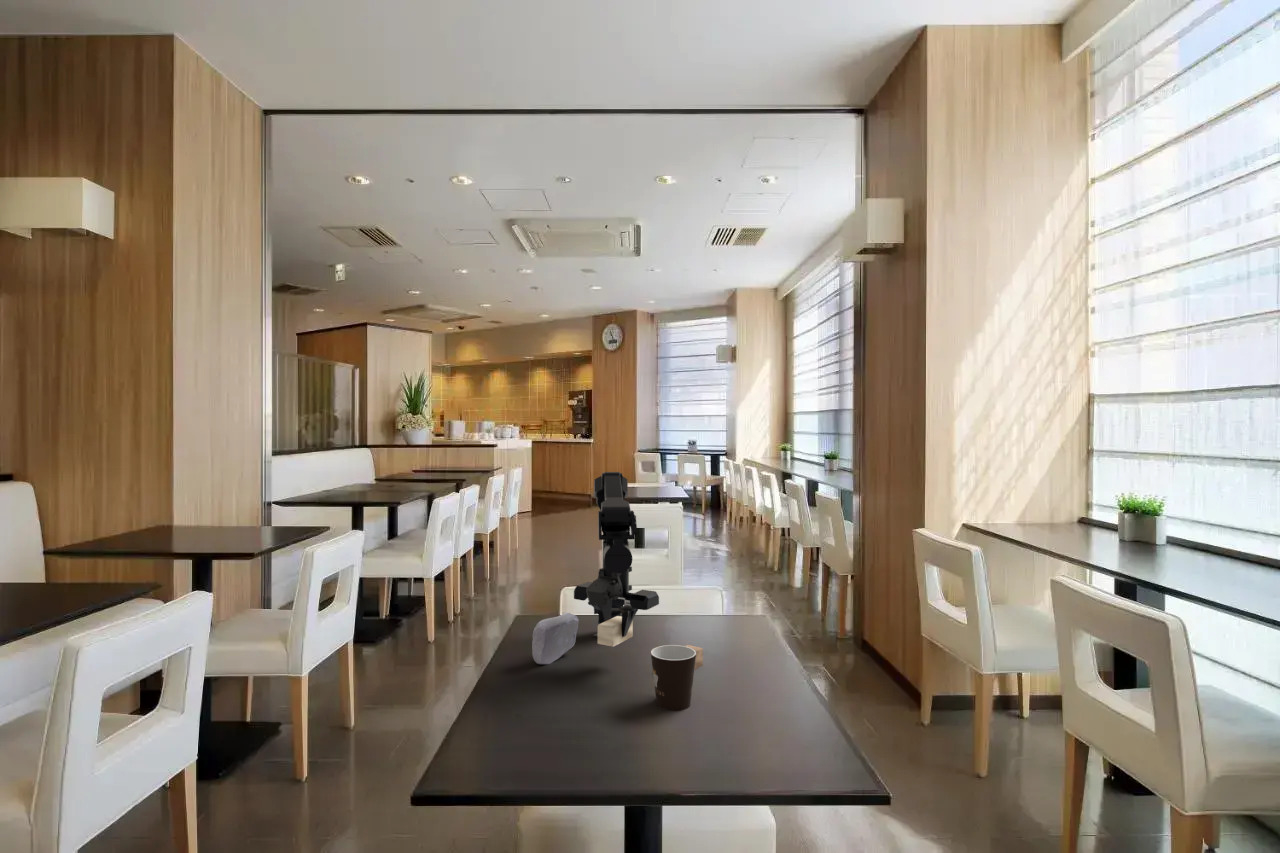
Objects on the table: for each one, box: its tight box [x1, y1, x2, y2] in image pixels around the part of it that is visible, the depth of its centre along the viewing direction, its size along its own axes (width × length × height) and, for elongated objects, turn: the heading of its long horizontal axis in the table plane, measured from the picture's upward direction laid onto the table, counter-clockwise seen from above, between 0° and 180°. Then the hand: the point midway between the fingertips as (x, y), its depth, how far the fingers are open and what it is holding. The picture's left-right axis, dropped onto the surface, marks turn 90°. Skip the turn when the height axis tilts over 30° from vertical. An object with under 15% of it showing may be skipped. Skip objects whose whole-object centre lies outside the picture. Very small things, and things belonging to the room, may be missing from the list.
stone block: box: [531, 612, 580, 665], centre depth 154 cm, size 12×5×10 cm, turn 143°
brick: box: [685, 644, 704, 671], centre depth 150 cm, size 8×4×4 cm, turn 143°
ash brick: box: [597, 616, 634, 647], centre depth 149 cm, size 8×4×4 cm, turn 150°
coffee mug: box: [650, 644, 696, 712], centre depth 132 cm, size 12×9×10 cm
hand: (615, 634), depth 150 cm, fingers closed on ash brick, 4 cm apart
